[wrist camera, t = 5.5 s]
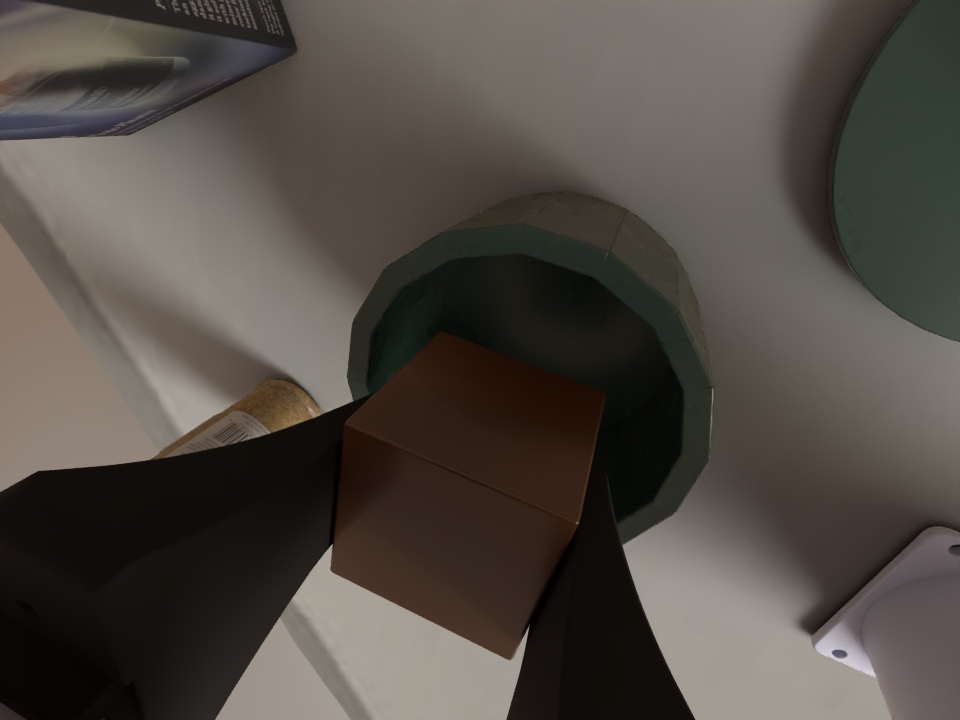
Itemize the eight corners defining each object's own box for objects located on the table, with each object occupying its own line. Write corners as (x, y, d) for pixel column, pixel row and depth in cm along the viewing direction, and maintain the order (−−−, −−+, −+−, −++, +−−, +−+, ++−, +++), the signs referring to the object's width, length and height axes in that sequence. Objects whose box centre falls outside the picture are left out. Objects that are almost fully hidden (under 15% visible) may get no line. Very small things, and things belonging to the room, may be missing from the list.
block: (607, 391, 11) (580, 523, 8) (553, 515, 14) (510, 663, 10) (440, 329, 12) (342, 421, 8) (415, 455, 14) (328, 572, 11)
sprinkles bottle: (244, 388, 27) (-70, 588, 15) (298, 366, 24) (-20, 579, 13) (288, 454, 28) (28, 685, 16) (343, 439, 26) (89, 691, 14)
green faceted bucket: (754, 244, 15) (804, 312, 10) (631, 473, 21) (619, 602, 15) (460, 156, 17) (364, 173, 12) (417, 387, 22) (337, 473, 17)
